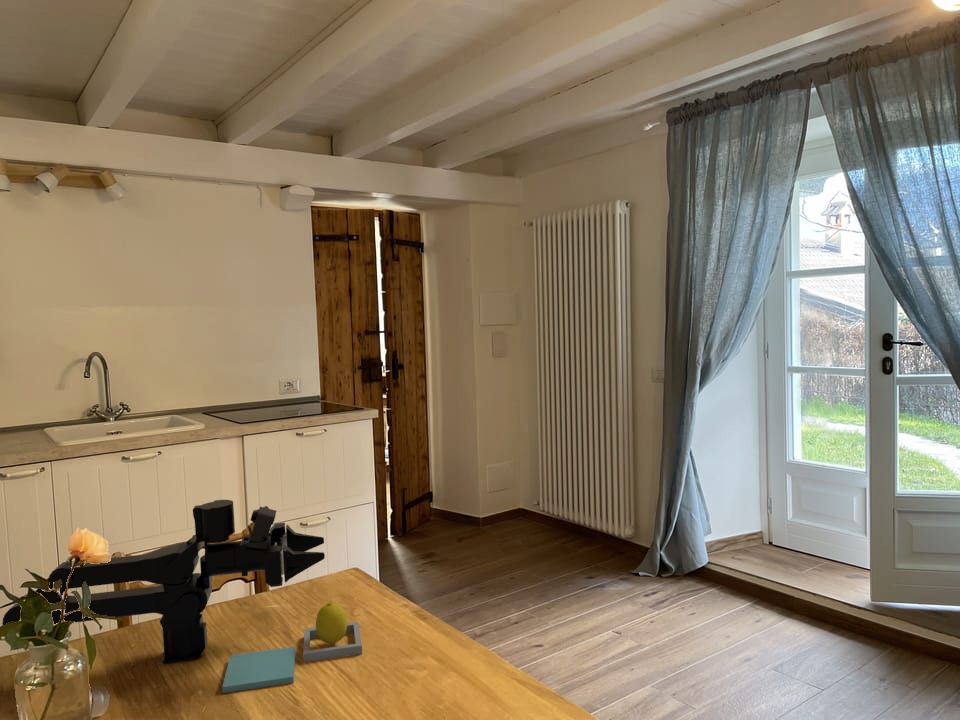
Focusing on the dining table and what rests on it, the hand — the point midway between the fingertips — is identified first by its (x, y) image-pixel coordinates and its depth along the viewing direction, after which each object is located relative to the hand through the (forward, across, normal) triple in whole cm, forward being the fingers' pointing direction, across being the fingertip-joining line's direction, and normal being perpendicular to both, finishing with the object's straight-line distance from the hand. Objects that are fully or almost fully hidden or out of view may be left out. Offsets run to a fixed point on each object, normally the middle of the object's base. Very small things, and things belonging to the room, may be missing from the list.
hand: (324, 547), depth 129 cm
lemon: (+1, -5, +17) cm, 18 cm away
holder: (+1, -5, +16) cm, 17 cm away
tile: (-11, -11, +16) cm, 23 cm away
